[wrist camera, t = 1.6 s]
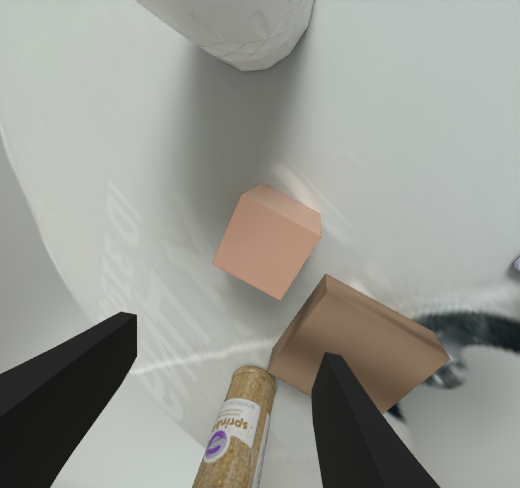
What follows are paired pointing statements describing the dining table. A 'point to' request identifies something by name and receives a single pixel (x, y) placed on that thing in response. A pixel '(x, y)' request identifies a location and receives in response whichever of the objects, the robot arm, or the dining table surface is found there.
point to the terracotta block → (268, 240)
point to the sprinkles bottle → (239, 433)
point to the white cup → (237, 27)
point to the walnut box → (356, 344)
